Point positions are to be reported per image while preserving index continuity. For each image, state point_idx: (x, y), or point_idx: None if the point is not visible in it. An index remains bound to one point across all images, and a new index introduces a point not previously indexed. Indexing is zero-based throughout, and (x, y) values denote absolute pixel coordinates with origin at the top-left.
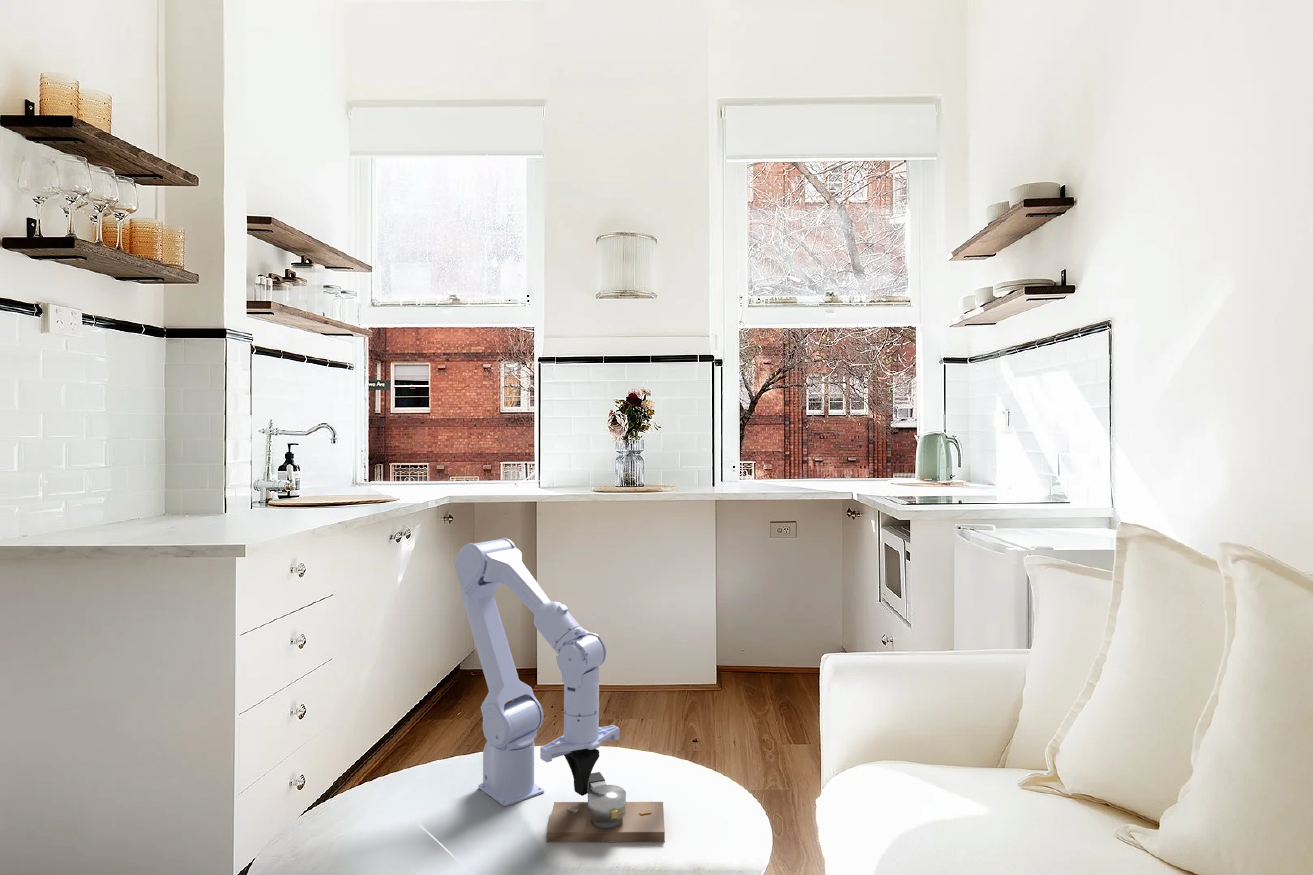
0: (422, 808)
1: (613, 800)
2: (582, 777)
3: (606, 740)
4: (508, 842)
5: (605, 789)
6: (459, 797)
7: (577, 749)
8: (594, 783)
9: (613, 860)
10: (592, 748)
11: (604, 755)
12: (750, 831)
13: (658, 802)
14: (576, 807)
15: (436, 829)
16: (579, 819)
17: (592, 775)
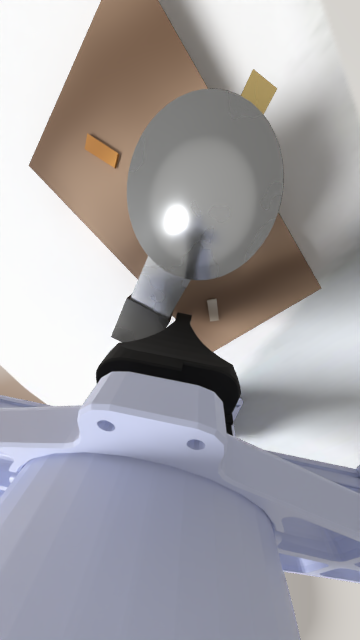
0: (297, 451)
1: (233, 117)
2: (195, 334)
3: (9, 400)
4: (333, 334)
5: (179, 236)
6: (252, 440)
7: (273, 456)
8: (161, 307)
9: (311, 65)
10: (204, 393)
11: (47, 389)
12: None
13: (42, 173)
14: (198, 312)
15: (338, 420)
16: (234, 272)
17: (138, 337)
